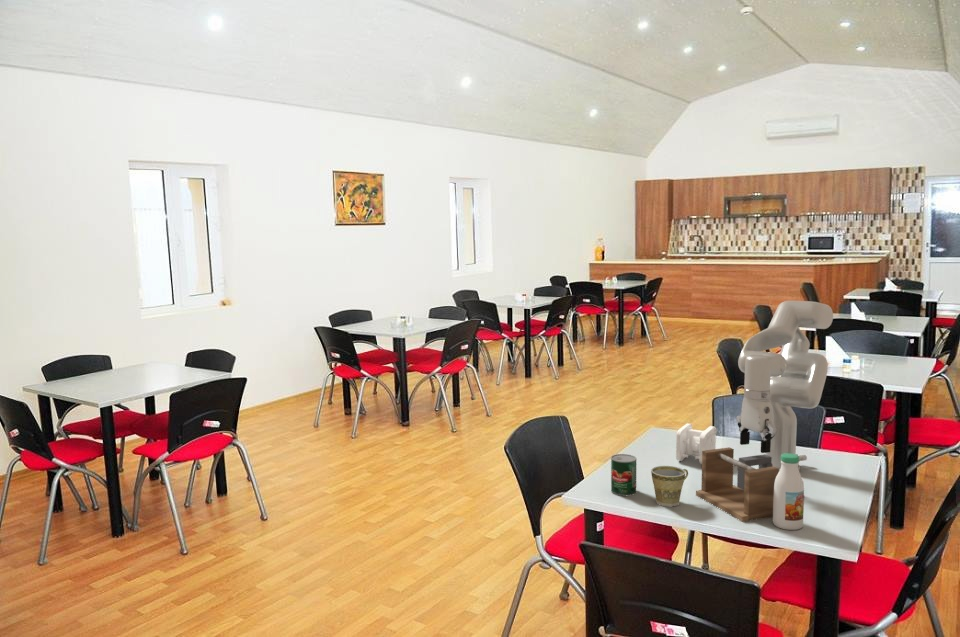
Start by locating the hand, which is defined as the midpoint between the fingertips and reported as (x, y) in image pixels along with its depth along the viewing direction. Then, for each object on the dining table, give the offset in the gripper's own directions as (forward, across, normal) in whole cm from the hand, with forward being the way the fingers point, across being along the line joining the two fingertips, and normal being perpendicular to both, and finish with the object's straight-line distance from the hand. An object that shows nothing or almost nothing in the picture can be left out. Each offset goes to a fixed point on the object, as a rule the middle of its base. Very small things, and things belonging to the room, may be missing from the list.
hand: (754, 448), depth 228 cm
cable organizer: (+13, +32, -1) cm, 34 cm away
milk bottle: (+14, -27, +10) cm, 32 cm away
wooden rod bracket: (+14, -9, +13) cm, 21 cm away
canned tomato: (+14, +13, +39) cm, 43 cm away
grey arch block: (+13, +1, -1) cm, 13 cm away
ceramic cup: (+14, 0, +30) cm, 33 cm away
